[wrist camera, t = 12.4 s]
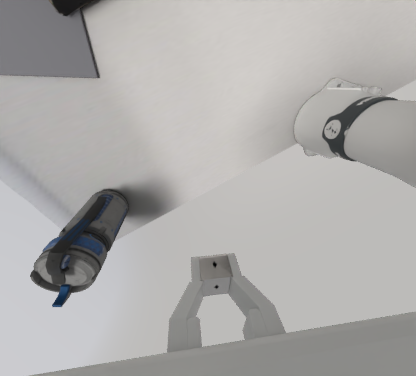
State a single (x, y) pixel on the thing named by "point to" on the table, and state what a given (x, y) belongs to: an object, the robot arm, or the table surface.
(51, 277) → the grey blue tall cylinder
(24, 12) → the mat
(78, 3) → the stone block
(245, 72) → the table surface
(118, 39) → the table surface
